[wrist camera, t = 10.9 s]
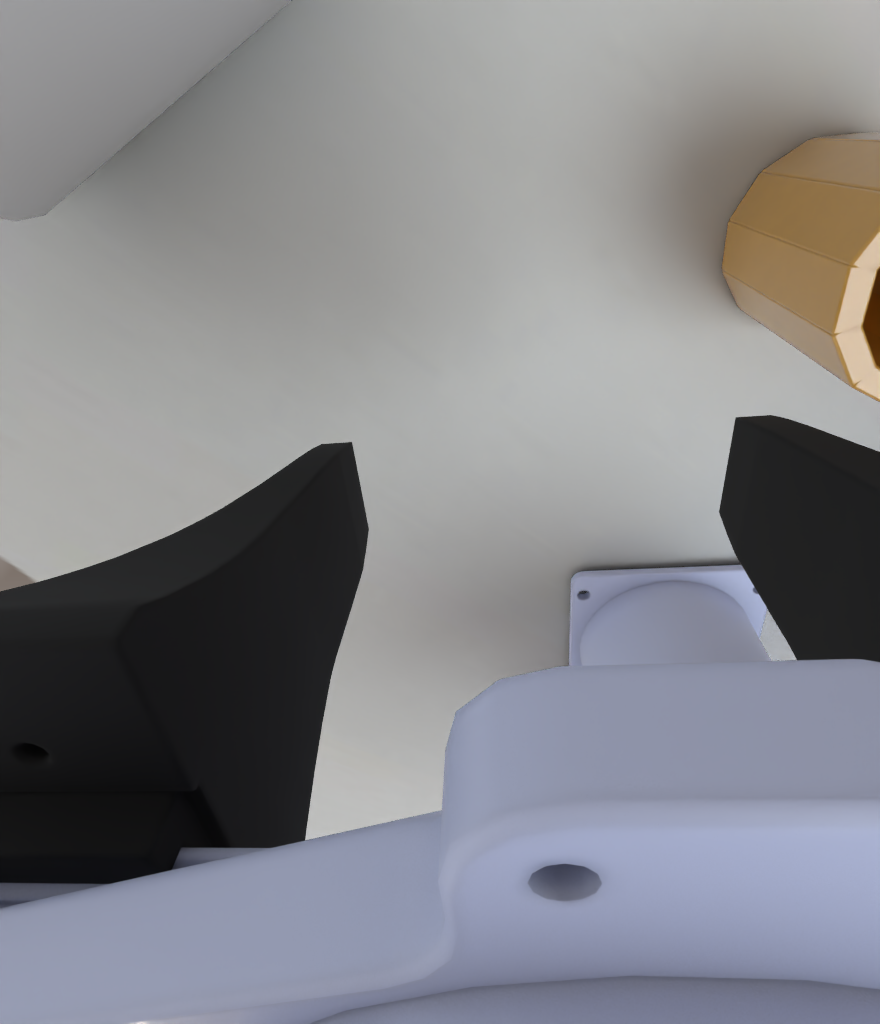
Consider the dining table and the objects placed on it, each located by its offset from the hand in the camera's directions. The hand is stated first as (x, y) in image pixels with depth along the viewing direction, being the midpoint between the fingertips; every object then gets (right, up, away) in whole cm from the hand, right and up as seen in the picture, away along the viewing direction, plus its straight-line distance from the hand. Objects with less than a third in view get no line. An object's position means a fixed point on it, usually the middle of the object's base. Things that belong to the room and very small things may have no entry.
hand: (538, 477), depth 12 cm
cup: (+9, +8, +6) cm, 14 cm away
